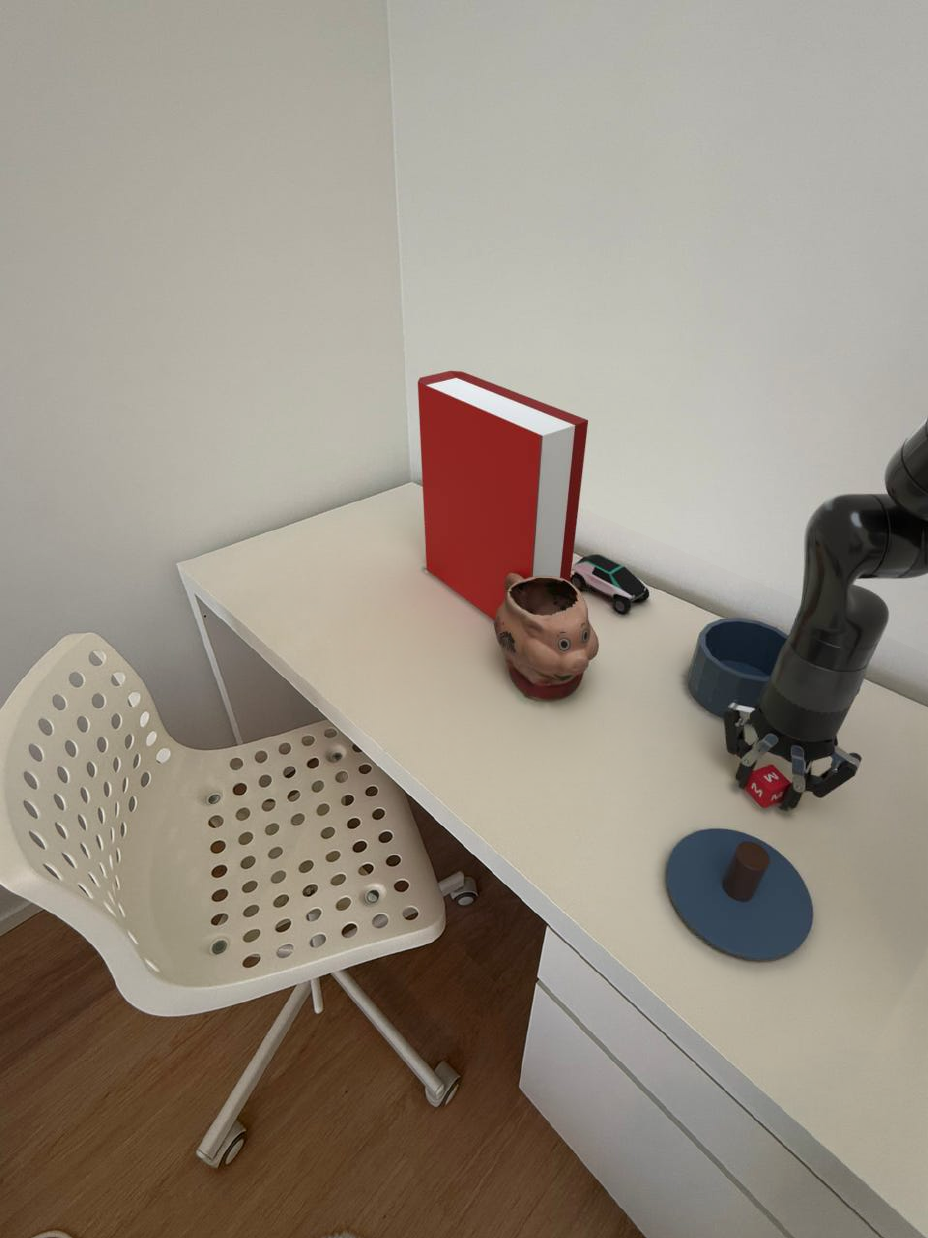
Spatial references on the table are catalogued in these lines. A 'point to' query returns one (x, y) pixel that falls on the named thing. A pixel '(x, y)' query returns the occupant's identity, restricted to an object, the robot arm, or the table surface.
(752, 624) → the tin
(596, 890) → the table surface
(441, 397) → the book
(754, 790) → the dice
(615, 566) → the toy car
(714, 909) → the lid
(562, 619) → the decorative planter
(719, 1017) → the table surface
